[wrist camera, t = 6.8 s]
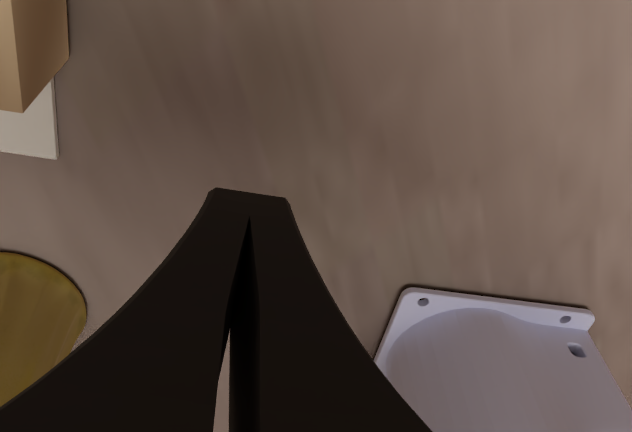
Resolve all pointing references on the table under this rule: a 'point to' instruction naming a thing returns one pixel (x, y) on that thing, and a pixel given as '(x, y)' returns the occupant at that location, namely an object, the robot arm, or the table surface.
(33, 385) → the robot arm
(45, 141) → the mat
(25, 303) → the vase
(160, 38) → the table surface
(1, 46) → the block
